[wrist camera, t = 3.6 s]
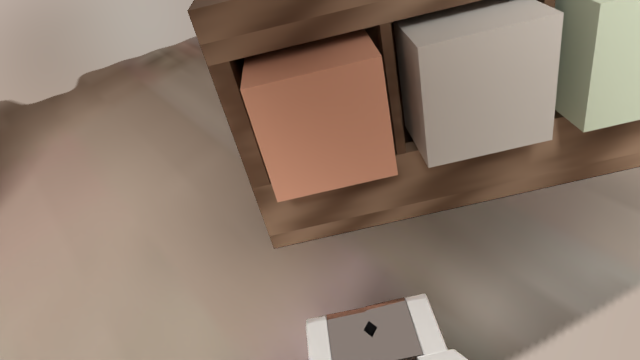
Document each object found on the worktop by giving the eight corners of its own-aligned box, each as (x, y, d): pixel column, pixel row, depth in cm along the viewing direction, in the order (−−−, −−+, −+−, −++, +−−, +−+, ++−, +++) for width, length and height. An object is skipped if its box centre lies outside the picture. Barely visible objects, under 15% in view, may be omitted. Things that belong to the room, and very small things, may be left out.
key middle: (428, 168, 22) (417, 47, 19) (405, 125, 26) (392, 19, 22) (552, 139, 22) (563, 12, 18) (510, 101, 25) (513, -10, 22)
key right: (583, 132, 22) (600, 3, 18) (537, 95, 25) (544, -18, 22) (710, 103, 21) (751, -33, 18) (644, 70, 25) (668, -48, 22)
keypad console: (274, 248, 27) (181, -7, 19) (273, 191, 32) (199, -31, 24) (678, 157, 26) (764, -152, 18) (612, 113, 31) (656, -145, 23)
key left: (277, 202, 22) (239, 89, 19) (276, 155, 26) (244, 55, 23) (398, 174, 22) (381, 55, 19) (379, 131, 26) (362, 26, 22)
